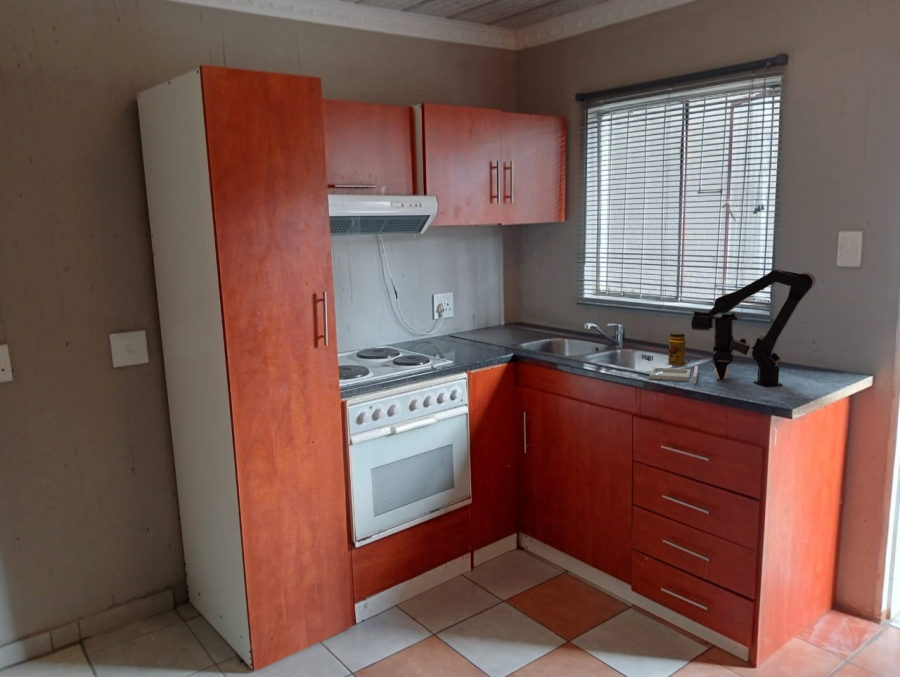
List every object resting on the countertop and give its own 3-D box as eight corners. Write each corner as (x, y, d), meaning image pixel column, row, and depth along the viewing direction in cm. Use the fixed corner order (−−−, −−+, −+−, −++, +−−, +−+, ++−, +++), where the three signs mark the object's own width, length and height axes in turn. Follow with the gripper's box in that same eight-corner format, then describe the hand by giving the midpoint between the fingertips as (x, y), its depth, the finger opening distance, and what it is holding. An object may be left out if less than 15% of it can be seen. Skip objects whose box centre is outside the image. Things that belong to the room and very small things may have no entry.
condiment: (666, 364, 263) (667, 334, 261) (668, 360, 270) (669, 330, 268) (686, 366, 260) (687, 335, 258) (688, 361, 267) (689, 331, 265)
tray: (688, 381, 235) (688, 377, 235) (649, 379, 240) (649, 374, 239) (690, 373, 247) (690, 369, 247) (652, 371, 252) (653, 367, 251)
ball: (732, 380, 235) (733, 366, 234) (719, 381, 234) (719, 367, 233) (723, 377, 240) (724, 363, 239) (710, 378, 239) (711, 364, 238)
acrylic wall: (696, 383, 232) (696, 376, 231) (693, 383, 232) (693, 376, 232) (697, 372, 248) (698, 365, 248) (694, 372, 249) (695, 365, 248)
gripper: (750, 337, 223) (748, 383, 225) (748, 328, 240) (746, 372, 243) (713, 336, 227) (711, 381, 229) (714, 327, 244) (712, 370, 247)
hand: (721, 376), depth 237 cm, fingers open, 9 cm apart
